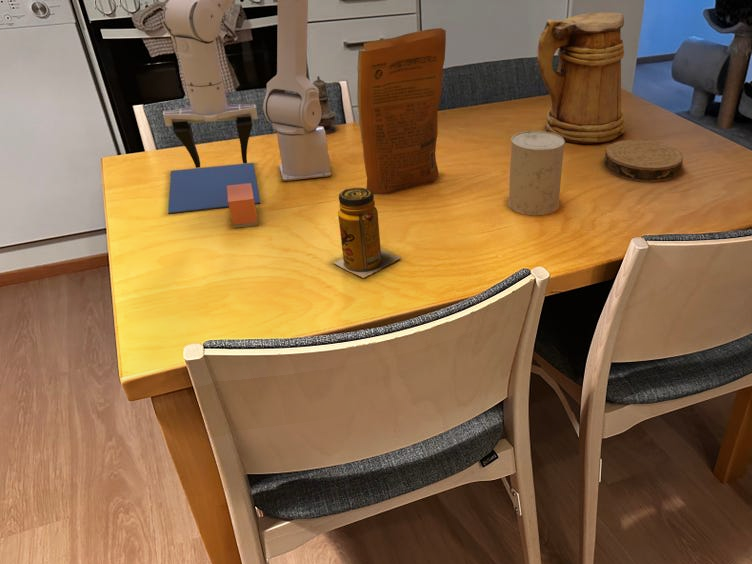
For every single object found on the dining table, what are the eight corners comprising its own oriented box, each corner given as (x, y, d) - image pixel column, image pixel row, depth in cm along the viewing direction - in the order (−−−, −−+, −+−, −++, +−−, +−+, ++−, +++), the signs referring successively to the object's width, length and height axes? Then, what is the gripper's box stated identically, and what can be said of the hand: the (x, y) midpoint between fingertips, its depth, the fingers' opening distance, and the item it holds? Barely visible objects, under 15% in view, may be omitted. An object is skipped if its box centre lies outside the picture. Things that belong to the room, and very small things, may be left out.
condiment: (332, 263, 112) (323, 193, 105) (371, 245, 117) (365, 177, 110) (363, 279, 108) (356, 207, 101) (402, 259, 113) (398, 190, 106)
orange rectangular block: (256, 208, 127) (251, 182, 124) (258, 225, 122) (253, 198, 119) (232, 211, 126) (226, 185, 123) (233, 228, 121) (227, 201, 118)
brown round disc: (648, 188, 138) (651, 174, 136) (588, 164, 147) (590, 150, 145) (695, 169, 146) (698, 155, 145) (636, 147, 156) (638, 134, 154)
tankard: (639, 136, 162) (658, 19, 147) (558, 154, 152) (569, 30, 137) (590, 114, 174) (603, 3, 159) (512, 129, 164) (517, 13, 149)
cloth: (253, 164, 144) (253, 162, 144) (260, 203, 129) (259, 202, 129) (171, 172, 140) (171, 170, 140) (168, 214, 125) (168, 212, 125)
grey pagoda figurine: (331, 135, 159) (325, 80, 151) (307, 132, 159) (300, 78, 152) (341, 126, 163) (335, 73, 156) (317, 124, 164) (310, 71, 157)
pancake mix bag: (456, 180, 139) (456, 29, 122) (371, 202, 130) (358, 42, 113) (438, 169, 144) (435, 22, 127) (354, 189, 135) (340, 34, 118)
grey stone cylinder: (564, 198, 134) (570, 134, 126) (551, 218, 126) (557, 152, 119) (516, 190, 136) (519, 128, 128) (501, 210, 129) (504, 145, 121)
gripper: (154, 91, 107) (176, 176, 115) (252, 85, 110) (266, 167, 118) (156, 79, 112) (177, 160, 120) (250, 73, 116) (263, 153, 124)
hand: (221, 163), depth 120 cm, fingers open, 7 cm apart
